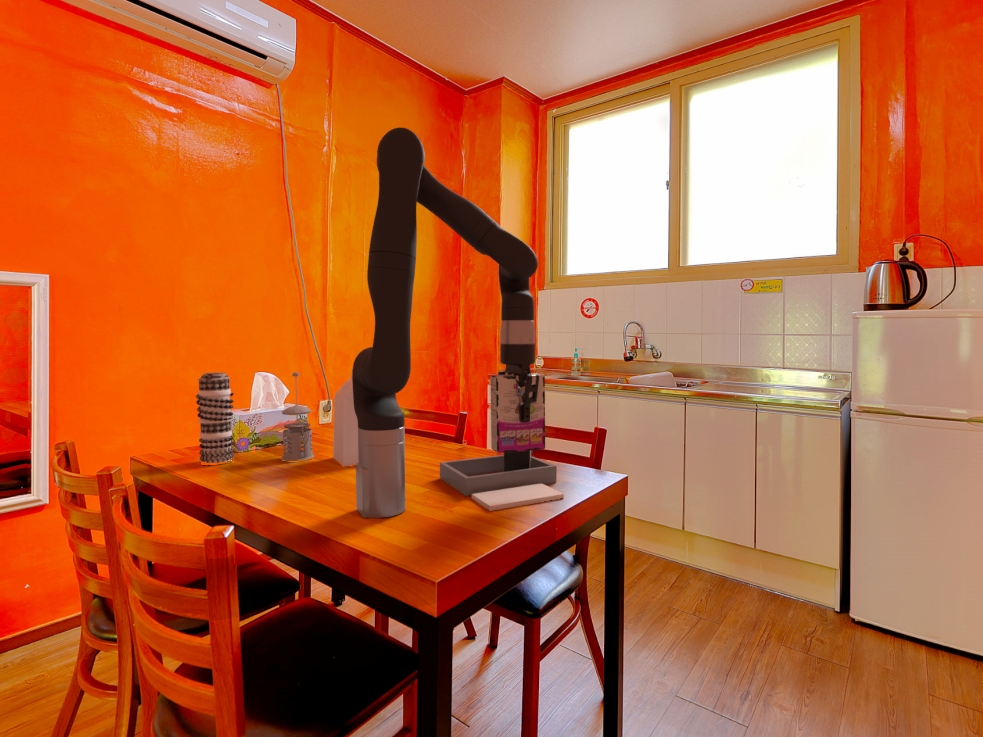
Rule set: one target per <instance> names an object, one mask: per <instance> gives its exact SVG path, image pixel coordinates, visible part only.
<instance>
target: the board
mask: <svg viewBox="0 0 983 737" xmlns="http://www.w3.org/2000/svg"><path fill="white" fill-rule="evenodd" d="M560 498H563V499H564V498H565V495H564V493H562V492H561V491H559V490H556V489H554V488H552V487H550V486H548V485H547V484H542V483H541V484H534V485H527V486H521V487H514V488H508V489H501V490H494V491H488V492H481V493H475V494H472V495H471V499H472V500H473V501H475V503H476V502H477V503H478V504H479V505H480V506H482V507H483V508H485V509H486V510H488V511H489V512H491V511H497V510H504V509H509V508H516V507H521V506H527V505H533V504H538V503H539V502H540V503H544V501H546V502H551V501H550V500H552V501H556V499H557V500H561V499H560ZM540 503H539V504H540Z"/></svg>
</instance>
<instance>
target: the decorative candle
mask: <svg viewBox="0 0 983 737" xmlns="http://www.w3.org/2000/svg"><path fill="white" fill-rule="evenodd" d="M230 379H231V377H229V376H228V374H227V373H226V372H206V373H203V374H202V375H201V376H200V377H199V378H198V379H197V380H198V393H197V394H196V395H195V398H196V401H195V403H196V405H198V407H197V408H196V410H197V418H200V419H198V423H199V424H200V425H199V427H200V432H199V439H198V442H199V443H200V444H199V445H198V446H199V448H201V449H200V450H199V452H198V453H199V455H200V456H199V460H200V462H201V461H202V462H206V463H220V462H227V461H230V460H231V459H232V458H233V459H234V457H235V455H234V454H235V453H234V451H235V450H234V447H233V445H234V441H232V440H234V436H233V430H232V428H231V427H232V424H231V422H232V421H233V417H232V416H233V415H234V413H233V412H232V411H231V409H233V408H234V405H233V404H232V403H234V402H235V401H234V400H233V399H232V398H230V397H232V396H234V394H235V393H234V392H232V388H230V387H231V383H230ZM231 461H232V460H231Z"/></svg>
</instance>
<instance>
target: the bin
mask: <svg viewBox="0 0 983 737" xmlns="http://www.w3.org/2000/svg"><path fill="white" fill-rule="evenodd" d="M557 473H558V472H557V465H556V464H553V463H550V462H548V461H545V460H542V459H540V458H537V457H535V456H533V455H531V468H530V469H522V470H515V471H507V472H504V454H501V455H494V456H493V455H491V456H490V455H489V456H484V457H475V458H474V457H473V458H466V459H465V458H464V459H459V460H458V459H457V460H450V461H449V460H447V461H442V462H439V479H440V480H442V481H443V482H444V483H447V485H449V486H451V487H452V488H453V489H455V490H456V491H458V492H460V494H462V495H464V496H465V497H470V496H472V494H475V493H481V492H488V491H494V490H501V489H508V488H514V487H521V486H527V485H534V484H541V483H542V484H544V485H548V484H547V483H549V484H554V483H553V482H556V483H557Z"/></svg>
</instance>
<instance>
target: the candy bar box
mask: <svg viewBox="0 0 983 737" xmlns="http://www.w3.org/2000/svg"><path fill="white" fill-rule="evenodd" d="M531 374H533V375H539V384H538V393H537V401H536V402H533V403H532V404H531V405H530V421H529V422H526V423H522V422H520V421H519V405H520V403H519V398H518V395H517V394H516V381H515V379H516V380H518V376H512V375H498V374H492V375H489V377H490V381H489V382H490V430H491V433H490V435H491V436H490V437H491V440H490V442H491V445H490V446H491V450H492V451H494V452H495V453H497V454H504V453H508V452H520V451H532V450H533V451H541V450H545V449H546V375H545V374H544V373H539V372H538V373H537V372H535V373H532V372H531ZM518 383H519V380H518ZM519 388H520V389H521V390H525V387H519ZM532 393H533V392H531V397H532ZM523 398H524V394H523Z"/></svg>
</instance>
